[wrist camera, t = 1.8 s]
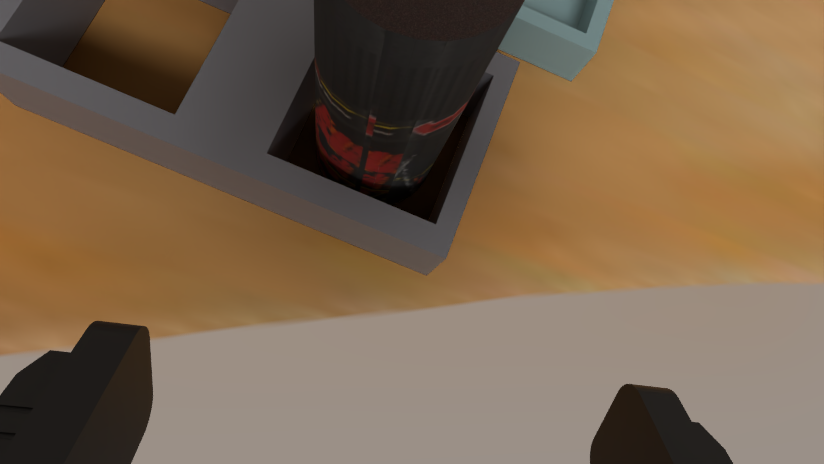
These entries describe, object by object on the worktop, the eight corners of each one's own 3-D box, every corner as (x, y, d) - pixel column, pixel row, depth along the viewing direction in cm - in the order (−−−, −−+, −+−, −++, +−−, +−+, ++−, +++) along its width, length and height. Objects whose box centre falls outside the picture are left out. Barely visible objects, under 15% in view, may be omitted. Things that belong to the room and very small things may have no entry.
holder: (491, 105, 31) (519, 62, 27) (426, 275, 28) (445, 258, 24) (120, -57, 30) (86, -130, 25) (14, 104, 27) (-43, 54, 23)
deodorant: (309, 100, 29) (300, -158, 15) (422, 92, 30) (516, -155, 16) (322, 212, 28) (326, 47, 14) (440, 199, 29) (558, 35, 15)
